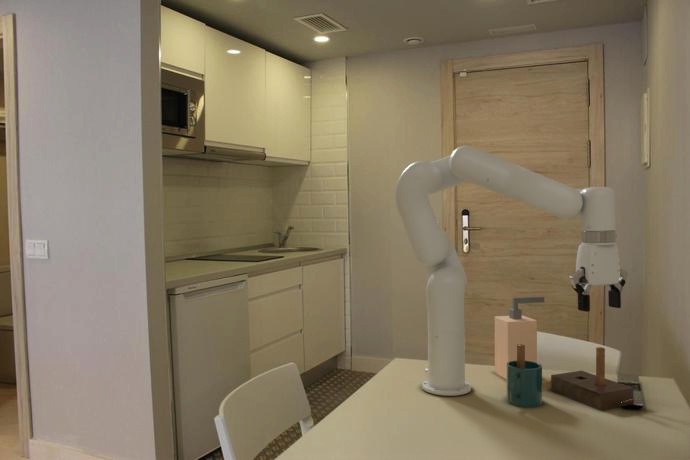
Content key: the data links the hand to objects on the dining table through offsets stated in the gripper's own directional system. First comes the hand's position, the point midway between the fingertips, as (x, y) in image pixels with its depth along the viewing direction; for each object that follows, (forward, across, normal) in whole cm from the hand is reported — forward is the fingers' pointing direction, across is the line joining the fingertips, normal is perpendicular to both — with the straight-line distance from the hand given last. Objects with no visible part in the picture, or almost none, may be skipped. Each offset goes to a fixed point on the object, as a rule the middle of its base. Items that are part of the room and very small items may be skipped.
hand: (599, 309), depth 139 cm
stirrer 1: (+22, +17, -8) cm, 29 cm away
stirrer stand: (+22, 0, -3) cm, 23 cm away
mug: (+22, +19, -6) cm, 30 cm away
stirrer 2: (+22, 0, 0) cm, 23 cm away
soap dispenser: (+22, +3, -25) cm, 34 cm away
